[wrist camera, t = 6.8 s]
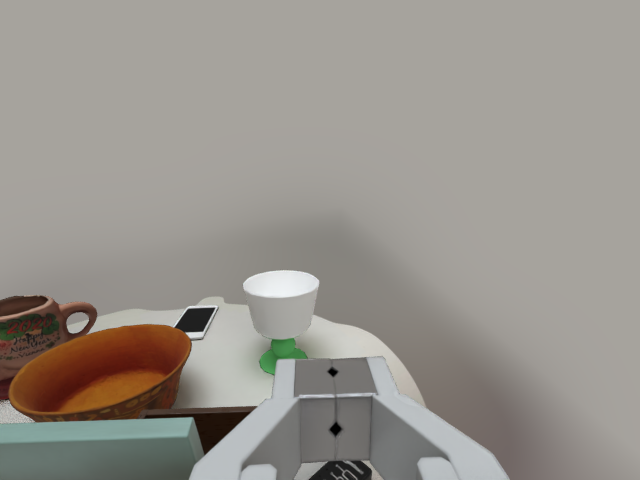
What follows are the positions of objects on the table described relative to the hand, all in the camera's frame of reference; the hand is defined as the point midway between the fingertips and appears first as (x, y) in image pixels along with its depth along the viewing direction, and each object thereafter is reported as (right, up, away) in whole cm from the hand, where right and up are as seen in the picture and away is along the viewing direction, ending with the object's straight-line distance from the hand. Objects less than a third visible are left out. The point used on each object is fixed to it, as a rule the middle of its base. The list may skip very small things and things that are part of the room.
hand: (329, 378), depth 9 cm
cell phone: (-30, -16, +66) cm, 74 cm away
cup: (-7, -19, +51) cm, 55 cm away
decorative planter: (-50, -20, +46) cm, 71 cm away
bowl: (-30, -22, +38) cm, 53 cm away
